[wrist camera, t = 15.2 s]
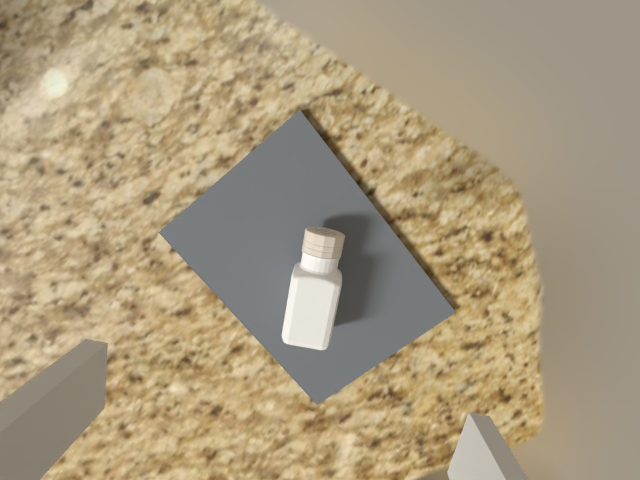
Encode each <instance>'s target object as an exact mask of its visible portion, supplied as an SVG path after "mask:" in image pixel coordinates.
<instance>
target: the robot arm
mask: <svg viewBox="0 0 640 480" xmlns="http://www.w3.org/2000/svg"><path fill="white" fill-rule="evenodd" d="M107 346H108V343H104V342H99V341H94V340H89V339H85V340H84V341H83V342H81V343H80V344H79V345H77V346H76V347H75V348H73V349H72V350H71V351H69V352H68V353H67V354H65V355H64V356H62V357H61V358H60V359H58V360H57V361H56V362H54V363H53V364H52V365H50V366H49V367H48V368H46V369H45V370H43V371H42V372H41V373H39V374H38V375H37V376H35V377H34V378H33V379H31V380H30V381H29V382H27V383H26V384H24V385H23V386H22V387H20V388H19V389H18V390H16V391H15V392H14V393H12V394H11V395H10V396H8V397H7V398H6V399H4V400H3V401H1V402H0V480H40V479H41V478H42V476H43V475H44V474H45V473H46V472H47V471H48V470H49V469H50V468H51V467H52V465H53V464H54V463H55V462H56V461H57V460H58V459H59V458H60V457H61V456H62V454H63V453H64V452H65V451H66V450H67V449H68V448H69V447H70V446H71V444H72V443H73V442H74V441H75V440H76V439H77V438H78V437H79V436H80V435H81V433H82V432H83V431H84V430H85V429H86V428H87V427H88V426H89V425H90V423H91V422H92V421H93V420H94V419H95V418H96V417H97V416H98V415H99V414H100V412H101V411H102V410H103V409H104V404H105V385H106V366H107ZM447 473H448V476H449V479H450V480H529V479H528V477H527V476H526V474H525V473H524V471H523V469H522V468H521V466H520V465H519V463H518V462H517V460H516V458H515V456H514V455H513V453H512V452H511V450H510V448H509V447H508V445H507V444H506V442H505V440H504V439H503V437H502V435H501V434H500V432H499V431H498V429H497V427H496V426H495V424H494V423H493V421H492V419H491V418H490V416H485V415H480V414H475V413H470V412H469V414H468V416H467V419H466V422H465V425H464V428H463V430H462V433H461V436H460V439H459V442H458V444H457V447H456V450H455V453H454V455H453V458H452V461H451V464H450V467H449V469H448V472H447Z"/></svg>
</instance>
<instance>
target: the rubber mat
mask: <svg viewBox="0 0 640 480" xmlns="http://www.w3.org/2000/svg"><path fill="white" fill-rule="evenodd" d="M308 227H323V228H328V229H333V230H336V231H339V232H341V233H343V234H344V235H345V239H344V244H343V249H342V254H341V258H340V259H339V263H338V268H337V269H339V270H340V271H341V273H342V287H341V292H340V296H339V301H338V306H337V311H336V316H335V321H334V326H333V330H332V335H331V340H330V344H329V346H328V347H327V349H326V350H317V349H311V348H306V347H300V346H294V345H289V344H286V343H284V342H283V339H282V330H283V324H284V318H285V312H286V306H287V300H288V294H289V288H290V282H291V276H292V272H293V269H294V266H295V264H296V263H298V262H301V259H302V253H303V252H302V246H303V240H304V234H305V229H306V228H308ZM159 233H160V234H161V235H162V236H163V238H164V239H165V240H166V241H167V242H168V243H169V244H170V245H171V246H172V247H173V248H174V250H175V251H176V252H177V253H178V254H179V255H180V256H181V257H182V258H183V259H184V260H185V262H186V263H187V264H188V265H189V266H190V267H191V268H192V269H193V270H194V271H195V272H196V273H197V275H198V276H199V277H200V278H201V279H202V280H203V281H204V282H205V283H206V284H207V285H208V287H209V288H210V289H211V290H212V291H213V292H214V293H215V294H216V295H217V296H218V297H219V299H220V300H221V301H222V302H223V303H224V304H225V305H226V306H227V307H228V308H229V309H230V311H231V312H232V313H233V314H234V315H235V316H236V317H237V318H238V319H239V320H240V321H241V322H242V324H243V325H244V326H245V327H246V328H247V329H248V330H249V331H250V332H251V333H252V334H253V336H254V337H255V338H256V339H257V340H258V341H259V342H260V343H261V344H262V345H263V346H264V348H265V349H266V350H267V351H268V352H269V353H270V354H271V355H272V356H273V357H274V358H275V359H276V361H277V362H278V363H279V364H280V365H281V366H282V367H283V368H284V369H285V370H286V371H287V373H288V374H289V375H290V376H291V377H292V378H293V379H294V380H295V381H296V382H297V383H298V385H299V386H300V387H301V388H302V389H303V390H304V391H305V392H306V393H307V394H308V395H309V397H310V398H311V399H312V400H313V401H314V402H315V403H316V404H317V405H318V404H319V403H321V402H322V401H324V400H325V399H327V398H328V397H330V396H331V395H332V394H334V393H335V392H337V391H338V390H340V389H341V388H343V387H344V386H346V385H347V384H349V383H350V382H352V381H353V380H355V379H356V378H358V377H359V376H361V375H362V374H364V373H365V372H367V371H368V370H370V369H371V368H373V367H374V366H376V365H377V364H379V363H380V362H382V361H383V360H385V359H386V358H388V357H389V356H391V355H392V354H394V353H395V352H397V351H398V350H400V349H401V348H403V347H404V346H406V345H407V344H409V343H410V342H412V341H413V340H415V339H416V338H418V337H419V336H421V335H422V334H424V333H425V332H427V331H428V330H430V329H431V328H433V327H434V326H436V325H437V324H439V323H440V322H442V321H443V320H445V319H446V318H448V317H449V316H451V315H452V314H454V313H455V310H454V309H453V308H452V307H451V305H450V304H449V303H448V301H447V300H446V299H445V297H444V296H443V295H442V294H441V292H440V291H439V290H438V288H437V287H436V286H435V285H434V283H433V282H432V281H431V279H430V278H429V277H428V275H427V274H426V273H425V272H424V270H423V269H422V268H421V266H420V265H419V264H418V262H417V261H416V260H415V259H414V257H413V256H412V255H411V253H410V252H409V251H408V249H407V248H406V247H405V246H404V244H403V243H402V242H401V240H400V239H399V238H398V236H397V235H396V234H395V233H394V231H393V230H392V229H391V227H390V226H389V225H388V223H387V222H386V221H385V220H384V218H383V217H382V216H381V214H380V213H379V212H378V211H377V209H376V208H375V207H374V205H373V204H372V203H371V201H370V200H369V199H368V198H367V196H366V195H365V194H364V192H363V191H362V190H361V188H360V187H359V186H358V185H357V183H356V182H355V181H354V179H353V178H352V177H351V175H350V174H349V173H348V172H347V170H346V169H345V168H344V166H343V165H342V164H341V162H340V161H339V160H338V159H337V157H336V156H335V155H334V153H333V152H332V151H331V149H330V148H329V147H328V146H327V144H326V143H325V142H324V140H323V139H322V138H321V136H320V135H319V134H318V133H317V131H316V130H315V129H314V127H313V126H312V125H311V124H310V122H309V121H308V120H307V118H306V117H305V116H304V114H303V113H302V112H301V111H300V110H299V111H298V112H297V113H296V114H294V115H293V116H292V117H291V118H290V119H289V120H287V121H286V122H285V123H284V124H283V125H282V126H281V127H279V128H278V129H277V130H276V131H275V132H274V133H273V134H271V135H270V136H269V137H268V138H267V139H266V140H265V141H263V142H262V143H261V144H260V145H259V146H258V147H256V148H255V149H254V150H253V151H252V152H251V153H250V154H248V155H247V156H246V157H245V158H244V159H243V160H242V161H240V162H239V163H238V164H237V165H236V166H235V167H233V168H232V169H231V170H230V171H229V172H228V173H227V174H225V175H224V176H223V177H222V178H221V179H220V180H219V181H217V182H216V183H215V184H214V185H213V186H212V187H211V188H209V189H208V190H207V191H206V192H205V193H204V194H202V195H201V196H200V197H199V198H198V199H197V200H196V201H194V202H193V203H192V204H191V205H190V206H189V207H188V208H186V209H185V210H184V211H183V212H182V213H181V214H180V215H178V216H177V217H176V218H175V219H174V220H173V221H171V222H170V223H169V224H168V225H167V226H166V227H165V228H163V229H162V230H161V231H160V232H159Z"/></svg>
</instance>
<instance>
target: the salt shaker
mask: <svg viewBox="0 0 640 480" xmlns="http://www.w3.org/2000/svg"><path fill="white" fill-rule="evenodd" d="M344 239H345V235H344V234H343V233H341V232H339V231H336V230H333V229H328V228H323V227H308V228H306V229H305V234H304V240H303V246H302V252H303V253H302V259H301V262H298V263H296V264H295V266H294V269H293V272H292V276H291V282H290V288H289V294H288V300H287V306H286V312H285V318H284V324H283V330H282V339H283V342H284V343H286V344H289V345H294V346H300V347H306V348H311V349H317V350H326V349H327V347H328V346H329V344H330V340H331V335H332V330H333V326H334V321H335V316H336V311H337V306H338V301H339V296H340V292H341V287H342V273H341V271H340V270H339V269H337V268H338V263H339V259H340V258H341V254H342V249H343V244H344Z"/></svg>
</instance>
